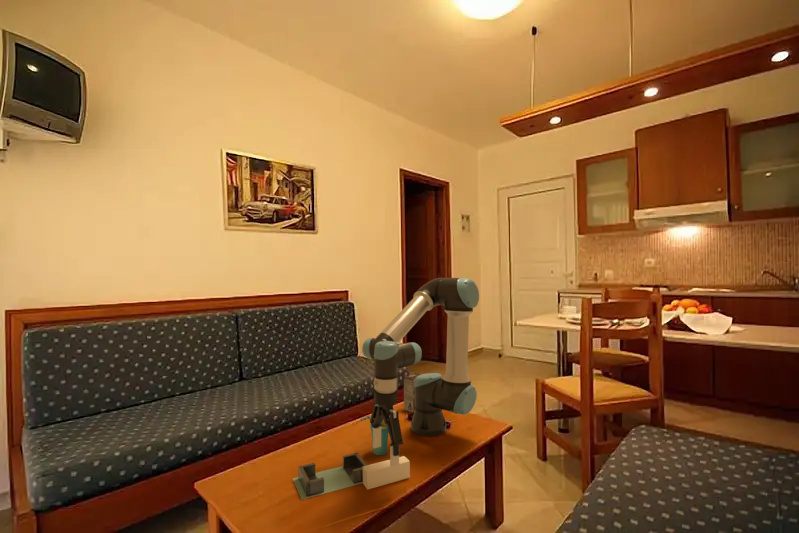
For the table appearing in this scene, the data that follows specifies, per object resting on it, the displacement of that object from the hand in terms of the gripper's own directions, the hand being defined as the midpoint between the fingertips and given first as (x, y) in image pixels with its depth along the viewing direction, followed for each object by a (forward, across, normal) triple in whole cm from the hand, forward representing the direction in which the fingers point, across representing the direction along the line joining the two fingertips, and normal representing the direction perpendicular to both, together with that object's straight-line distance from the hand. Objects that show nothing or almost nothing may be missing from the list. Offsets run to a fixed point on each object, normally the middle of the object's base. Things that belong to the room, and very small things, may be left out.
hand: (385, 455), depth 128 cm
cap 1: (+8, -9, -22) cm, 25 cm away
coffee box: (+8, -52, +40) cm, 66 cm away
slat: (+9, 0, +1) cm, 9 cm away
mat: (+9, -9, -14) cm, 19 cm away
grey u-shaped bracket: (+8, -9, -7) cm, 14 cm away
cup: (+8, -19, +6) cm, 21 cm away
